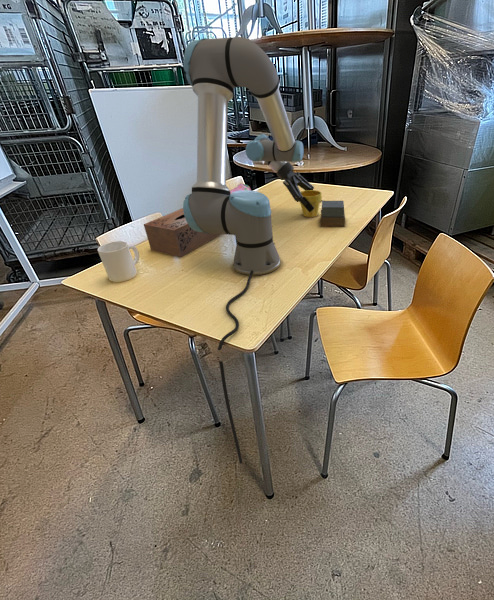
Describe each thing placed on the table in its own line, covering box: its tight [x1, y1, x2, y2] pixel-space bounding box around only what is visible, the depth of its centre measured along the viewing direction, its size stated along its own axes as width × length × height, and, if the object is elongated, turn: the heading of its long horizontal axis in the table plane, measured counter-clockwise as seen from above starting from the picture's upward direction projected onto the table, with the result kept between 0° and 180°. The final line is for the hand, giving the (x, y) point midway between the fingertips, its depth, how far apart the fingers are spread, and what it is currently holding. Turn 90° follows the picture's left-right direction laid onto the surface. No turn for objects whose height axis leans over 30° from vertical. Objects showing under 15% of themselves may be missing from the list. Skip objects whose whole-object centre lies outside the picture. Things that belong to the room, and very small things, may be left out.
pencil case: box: [229, 182, 252, 194], centre depth 162 cm, size 21×9×9 cm, turn 162°
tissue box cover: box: [143, 207, 222, 258], centre depth 127 cm, size 26×14×10 cm, turn 154°
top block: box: [321, 200, 345, 217], centre depth 139 cm, size 9×9×4 cm
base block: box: [319, 209, 346, 228], centre depth 141 cm, size 10×10×4 cm
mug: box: [97, 240, 140, 283], centre depth 105 cm, size 12×8×10 cm
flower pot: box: [298, 189, 323, 218], centre depth 149 cm, size 10×10×10 cm
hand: (316, 206), depth 148 cm, fingers closed on flower pot, 10 cm apart
